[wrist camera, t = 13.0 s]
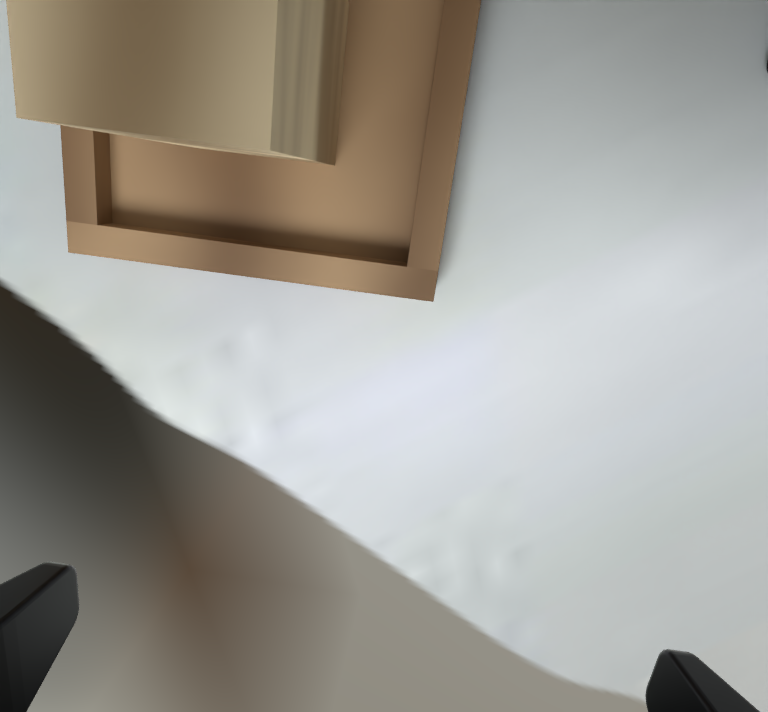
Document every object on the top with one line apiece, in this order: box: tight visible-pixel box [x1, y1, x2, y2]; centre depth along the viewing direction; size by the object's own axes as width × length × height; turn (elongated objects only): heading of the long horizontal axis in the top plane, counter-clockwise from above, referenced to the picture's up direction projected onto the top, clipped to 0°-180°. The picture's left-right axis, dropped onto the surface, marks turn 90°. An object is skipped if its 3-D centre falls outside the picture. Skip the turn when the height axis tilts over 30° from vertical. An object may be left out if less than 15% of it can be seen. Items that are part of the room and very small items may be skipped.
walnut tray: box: [61, 0, 481, 302], centre depth 16 cm, size 12×12×2 cm
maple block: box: [6, 0, 349, 166], centre depth 12 cm, size 4×4×8 cm
